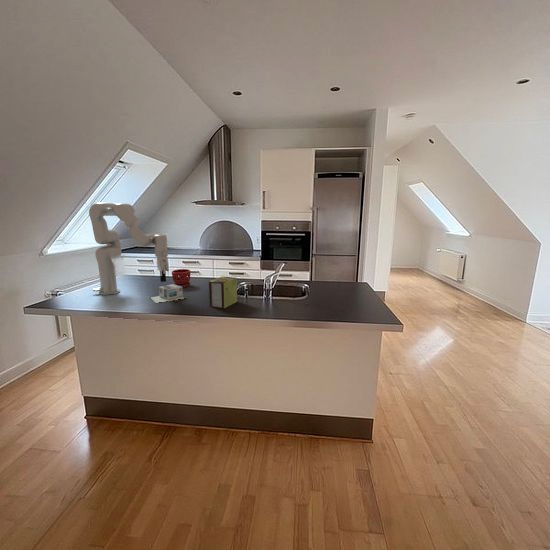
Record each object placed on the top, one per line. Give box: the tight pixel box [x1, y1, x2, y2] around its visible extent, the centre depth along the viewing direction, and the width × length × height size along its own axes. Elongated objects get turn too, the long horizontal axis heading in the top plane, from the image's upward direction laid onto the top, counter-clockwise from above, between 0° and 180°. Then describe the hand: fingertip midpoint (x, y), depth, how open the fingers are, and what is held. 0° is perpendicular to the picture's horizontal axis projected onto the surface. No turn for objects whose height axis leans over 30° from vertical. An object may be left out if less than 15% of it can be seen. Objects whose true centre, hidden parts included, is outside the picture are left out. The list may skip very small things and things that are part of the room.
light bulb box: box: [158, 283, 184, 300], centre depth 190 cm, size 11×7×11 cm
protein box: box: [208, 275, 238, 309], centre depth 177 cm, size 10×15×16 cm
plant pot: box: [171, 268, 191, 288], centre depth 219 cm, size 13×13×12 cm
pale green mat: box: [150, 295, 185, 304], centre depth 188 cm, size 18×14×1 cm
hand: (163, 281), depth 193 cm, fingers closed
